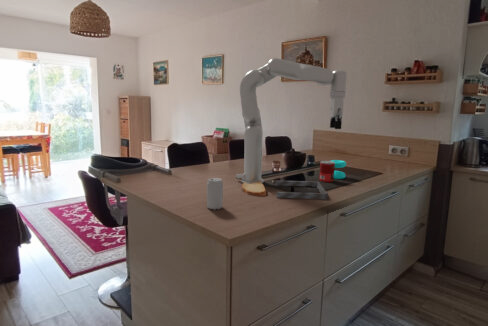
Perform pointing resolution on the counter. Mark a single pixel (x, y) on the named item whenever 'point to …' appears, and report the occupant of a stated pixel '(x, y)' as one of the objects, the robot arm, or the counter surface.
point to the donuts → (339, 165)
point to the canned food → (327, 171)
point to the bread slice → (254, 189)
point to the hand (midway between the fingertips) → (335, 128)
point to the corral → (320, 195)
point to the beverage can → (214, 193)
